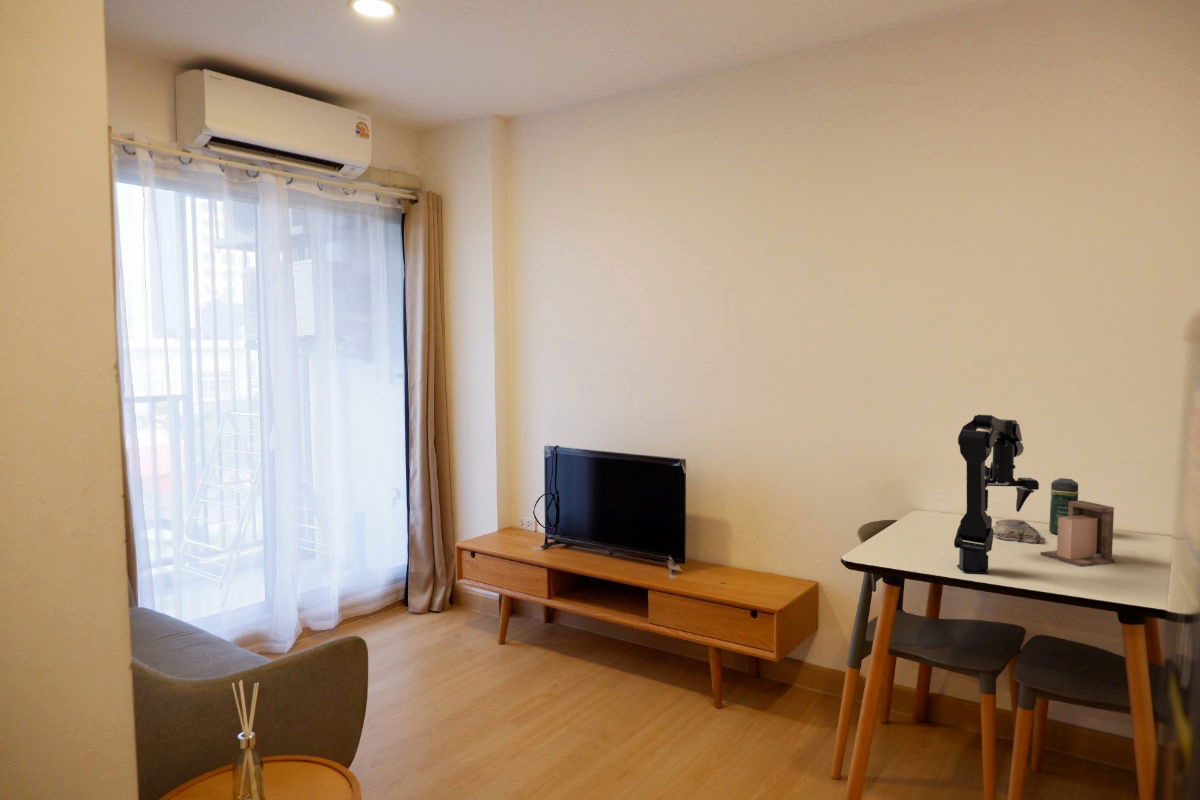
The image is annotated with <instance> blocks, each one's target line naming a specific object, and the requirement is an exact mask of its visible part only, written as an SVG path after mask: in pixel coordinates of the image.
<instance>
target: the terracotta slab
mask: <svg viewBox="0 0 1200 800" xmlns="http://www.w3.org/2000/svg"><path fill="white" fill-rule="evenodd" d="M1097 524H1098V518H1095V517H1091V516H1086V515H1078V516H1067V517H1058V534H1057V545H1056V550H1057V555H1058V556H1061V557H1064V558H1068V559H1077V558H1086V557H1092V554H1096V550H1097Z"/></svg>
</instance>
